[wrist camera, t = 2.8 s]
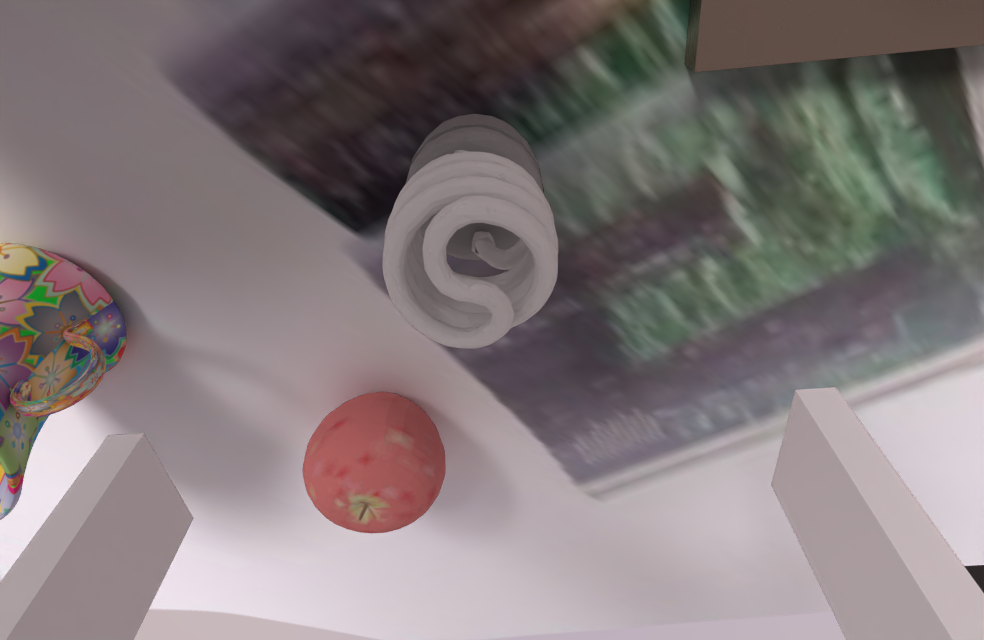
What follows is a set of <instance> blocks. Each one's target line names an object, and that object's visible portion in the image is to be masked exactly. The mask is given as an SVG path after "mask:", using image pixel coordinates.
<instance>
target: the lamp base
mask: <svg viewBox="0 0 984 640" xmlns="http://www.w3.org/2000/svg"><path fill="white" fill-rule="evenodd" d="M976 45H984V0H690V8H689V20H688V31H687V43H686V54H685V65H687V66H688V67H689V68H690V69H692V70H693V71H694V72H702V71H713V70H723V69H734V68H744V67H755V66H765V65H776V64H786V63H797V62H807V61H818V60H828V59H839V58H849V57H860V56H870V55H881V54H891V53H902V52H912V51H923V50H933V49H944V48H954V47H965V46H976Z"/></svg>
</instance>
